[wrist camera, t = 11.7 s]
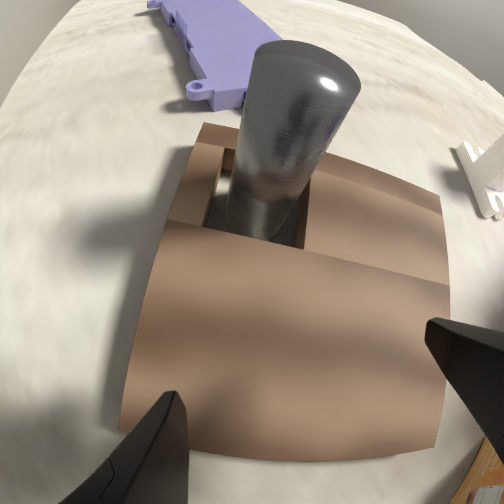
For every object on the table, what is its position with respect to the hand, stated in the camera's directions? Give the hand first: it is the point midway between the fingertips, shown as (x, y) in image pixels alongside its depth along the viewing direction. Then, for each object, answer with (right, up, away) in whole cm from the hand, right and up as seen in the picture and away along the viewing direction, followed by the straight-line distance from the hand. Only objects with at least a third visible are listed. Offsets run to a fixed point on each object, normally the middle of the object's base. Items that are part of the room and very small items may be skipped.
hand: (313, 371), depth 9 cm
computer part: (-6, +29, +20) cm, 36 cm away
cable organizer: (+27, +12, +18) cm, 35 cm away
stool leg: (-2, +6, +11) cm, 13 cm away
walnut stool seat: (+2, +1, +10) cm, 10 cm away
